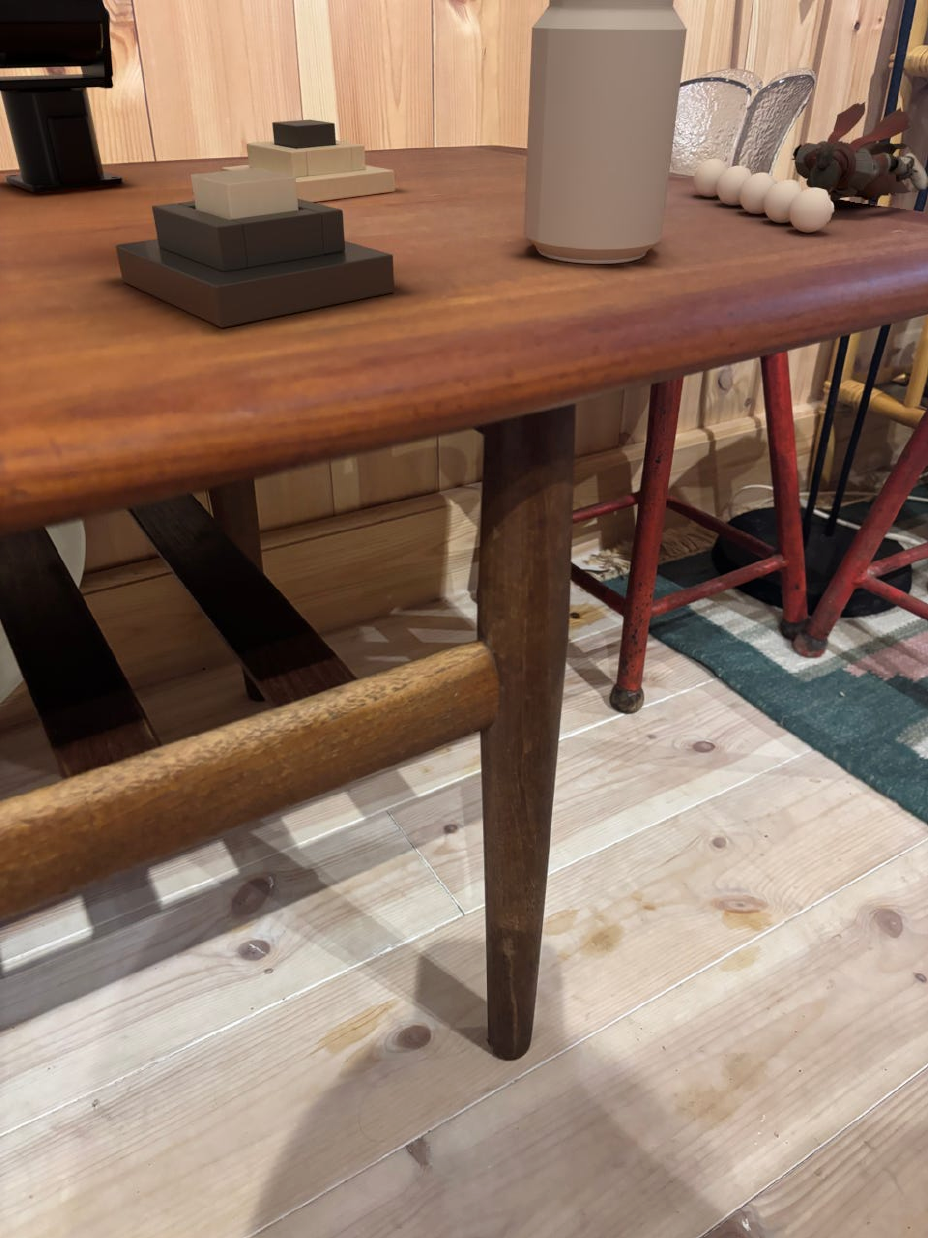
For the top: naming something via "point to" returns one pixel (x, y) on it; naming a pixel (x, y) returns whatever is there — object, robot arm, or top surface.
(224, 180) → the beige square block
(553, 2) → the can
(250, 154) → the beige stepped base
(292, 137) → the black key
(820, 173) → the action figure
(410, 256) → the top surface
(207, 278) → the dark grey stepped block
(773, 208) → the spheres
